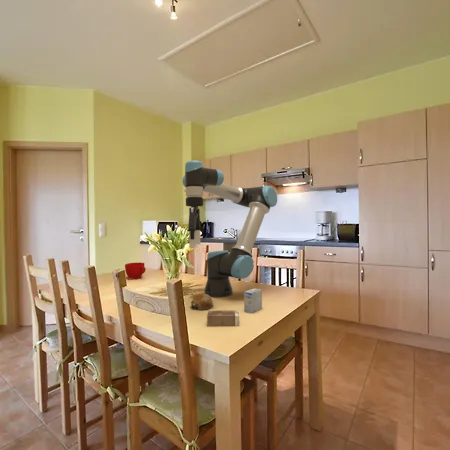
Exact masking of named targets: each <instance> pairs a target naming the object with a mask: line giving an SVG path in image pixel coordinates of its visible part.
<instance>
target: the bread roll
mask: <svg viewBox="0 0 450 450" xmlns="http://www.w3.org/2000/svg"><path fill="white" fill-rule="evenodd" d="M190 307H191V309H193V310H195V311H208V310H212V309H213V308H214V303H213V298H212V297H210V296H209V295H207V294H205V293H198V294H197V295H195V296H194V297H193V298H192V300H191V301H190Z"/></svg>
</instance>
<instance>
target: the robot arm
mask: <svg viewBox="0 0 450 450" xmlns="http://www.w3.org/2000/svg"><path fill="white" fill-rule="evenodd" d="M184 164H185V165H184V175H183V177H182V185H183V186H184V188H185V189H184V190H183V191H184V192H185V197H186V198H185V206H186V207H189V208H188V212H189V213H188V214H189V215H188V225H187V226H188V228H187V229H186V230H187V231H186V232H188V233H189V234H188V237H189V239H188V240H189V241H188V243H189V245H188V246H189V248H190V249H191V248H197V245H201V231H202V230H203V229H202V228H203V227H202V226H201V217H200V213H201V211H200V210H201V209H200V208H199V207H203V206H204V198H203V197H204V192H205V193H208V194H209V195H210V194H211V195H213V196H217V197H220V198H223V199H227V200H229V201H231V202H232V203H233V204H236V205H239V206H242V207H245V208H249V210H248V214H247V215H246V218H245V221H244V224H243V225H242V229H241V232H240V234H239V236H238V239H237V242H236V244H235V246H233V247H231V249H230V251H229V250H228V249H226V250H217V251H209V252H208V253H207V255H206V256H207V257H206V271H207V280H206V284H205V287H204V289H203V290H204V292H203V293H204V294H207V295H209V296H210V297H211V298H212V297H213V298H224V297H229V296H231V295H233V287H232V284H231V280H230V278H233V279H234V278H235V279H241V280H243V279H246V278H248V277H250V275H251V274H252V273H253V270H254V266H255V265H254V259H253V254H252V250H253V248H254V245H255V242H256V239H257V237H258V234H259V231H260V228H261V226H262V223H263V221H264V218H265V215H266V214H268V213H269V212H270V210H271V208H273V207H276V206H277V203H278V194H277V191H276V189H275V188H274V187H273V186H272V185H263V186H256V187H255V186H253V187H240V186H232V185H230V184H227V183H224V178H225V176H224V175H225V174H224V172H223V171H222V170H220V169H216V168H215V169H213V168H208V167H204V165H203V162H202V161H201V160H200V161H199V160H188V161H187V162H186V163H184Z"/></svg>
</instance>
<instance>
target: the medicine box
mask: <svg viewBox="0 0 450 450" xmlns="http://www.w3.org/2000/svg"><path fill="white" fill-rule="evenodd" d="M243 302H244V303H243V306H244V307H243V309H244V312H246V313H249V314H253V313H256V312H258V311H260V310H261V309H262V308H263V289H259V288H252V289H248V290H246V291H244V292H243Z"/></svg>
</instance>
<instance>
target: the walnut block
mask: <svg viewBox="0 0 450 450" xmlns="http://www.w3.org/2000/svg"><path fill="white" fill-rule="evenodd" d="M206 322H207V323H206V324H207V325H206V326H207V327H240V311H239V310H234V309H233V310H232V309H231V310H229V309H227V310H226V309H225V310H223V309H222V310H207V315H206Z"/></svg>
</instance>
